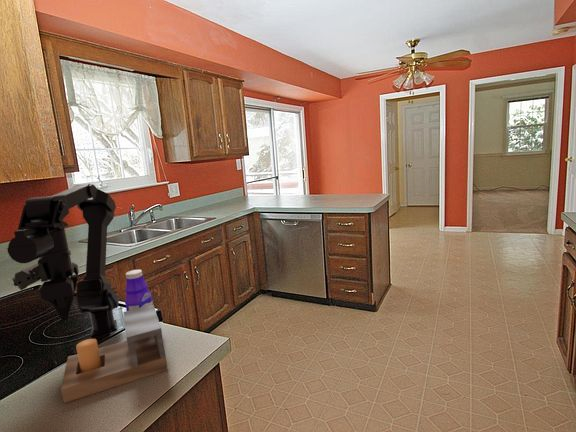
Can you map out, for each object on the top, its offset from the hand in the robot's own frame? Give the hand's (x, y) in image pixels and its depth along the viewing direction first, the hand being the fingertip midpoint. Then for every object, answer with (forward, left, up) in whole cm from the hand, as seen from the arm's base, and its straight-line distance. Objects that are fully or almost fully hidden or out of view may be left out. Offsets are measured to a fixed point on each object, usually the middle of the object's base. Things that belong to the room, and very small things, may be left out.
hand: (67, 313), depth 86 cm
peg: (+11, +4, -12) cm, 17 cm away
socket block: (+11, +9, -12) cm, 19 cm away
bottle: (-5, +16, -12) cm, 21 cm away
